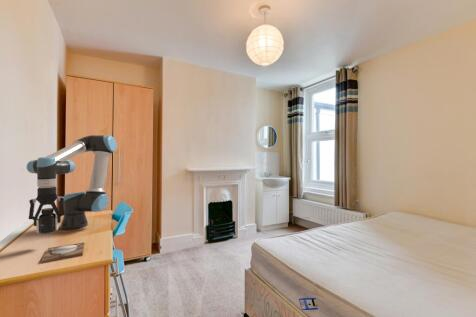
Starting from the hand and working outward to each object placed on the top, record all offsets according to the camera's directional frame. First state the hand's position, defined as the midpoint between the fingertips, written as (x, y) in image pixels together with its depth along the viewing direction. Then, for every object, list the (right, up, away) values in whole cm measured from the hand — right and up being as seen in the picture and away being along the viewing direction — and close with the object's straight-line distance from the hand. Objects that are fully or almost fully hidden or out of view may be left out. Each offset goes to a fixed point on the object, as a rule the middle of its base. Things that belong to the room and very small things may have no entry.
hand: (47, 230), depth 116 cm
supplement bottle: (0, -1, 0) cm, 1 cm away
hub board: (+14, -9, -7) cm, 18 cm away
